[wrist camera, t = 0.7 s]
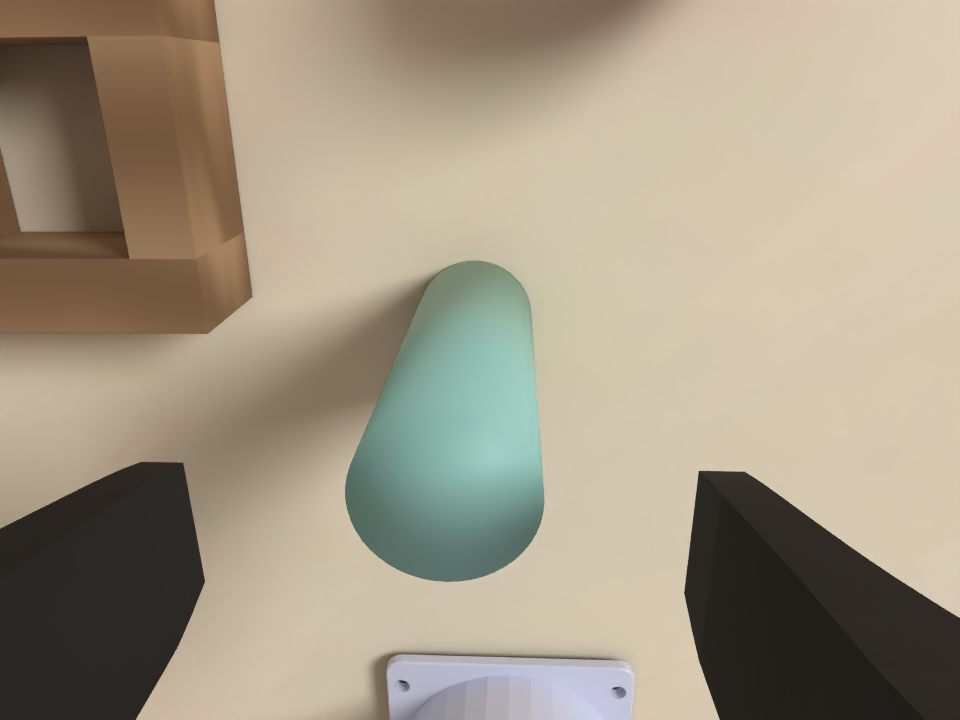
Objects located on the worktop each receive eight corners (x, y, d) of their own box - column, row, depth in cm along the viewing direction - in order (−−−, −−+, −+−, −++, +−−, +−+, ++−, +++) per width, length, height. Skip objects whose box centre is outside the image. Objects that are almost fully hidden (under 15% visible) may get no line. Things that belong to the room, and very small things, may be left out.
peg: (530, 368, 20) (542, 583, 11) (421, 366, 20) (353, 579, 11) (532, 261, 18) (547, 411, 10) (417, 260, 19) (337, 408, 10)
